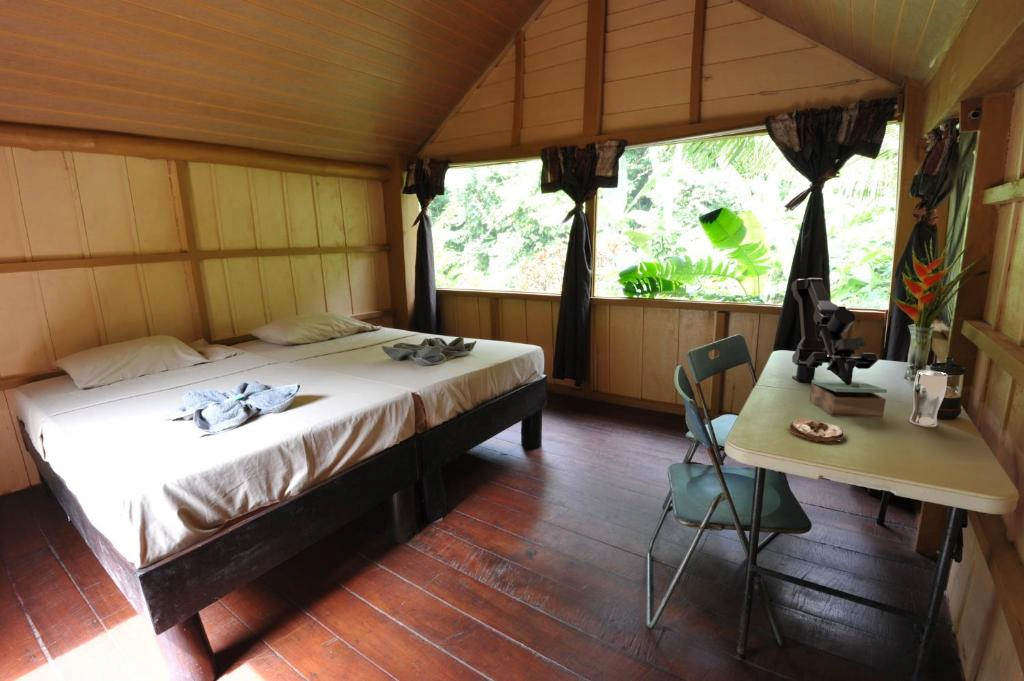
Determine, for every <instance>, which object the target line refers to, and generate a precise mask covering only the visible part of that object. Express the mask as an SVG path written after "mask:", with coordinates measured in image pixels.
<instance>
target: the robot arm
mask: <svg viewBox="0 0 1024 681" xmlns="http://www.w3.org/2000/svg"><path fill="white" fill-rule="evenodd" d="M790 290H791V291H792V295H793V298H794V299H795V300H796V302H797V303H798V308H799V321H800V335H801V336H800V337H801V340H800V341H799V343H798V344H797V347H796V350H795V351H794V353H793V355H792V359H791V362H792V363H793V365H796V368H797V369H796V373H795V374H796V375H792V376H791V378H792V379H794V380H796V381H797V382H799V383H812V380H816V379H815V374H816V369H817V368H818V367H822V366H823V364H827V365H828V367H826V370H827V371H830V372H831V373H832V374H834V375H835V376H837V378H839V379H840V380H841V381H843V382H844V383H846V384H847V385H850V384H851V383H852V381H853V373H854V368H856V369H858V370H859V369H860V370H868V369H870V368H872V367H873V366H874V365H875V364H876V363H877V362H878V361H879V358H878V356H877V354H876V353H874V352H861V353H860V354H858V356H852V355H854V354H855V353H856V350H861V349H863V348H865V347H866V346H867V345H866V340H865V338H864V336H857V337H854V338H852V337H851V338H849V337H848V338H847V337H846V338H845V336H844V333H846V332H847V331H848V330H849V328H851V325H853V323H854V321H855V320H856V314H854V312H852V311H851V310H849V309H847V307H846V306H845V305H844V306H838V305H837V304H835V303H833V302H832V301H831V299H830V296H829V294H828V292H827V290H826V288H825V286H824V279H823V278H821V277H808V278H796V279H795V280H794V281H792V283H791V287H790ZM817 326H823V327H822V328H821V330H820V332H819V335H818V336H819V337H820V338H822V339H819V338H818V337H817Z"/></svg>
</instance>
